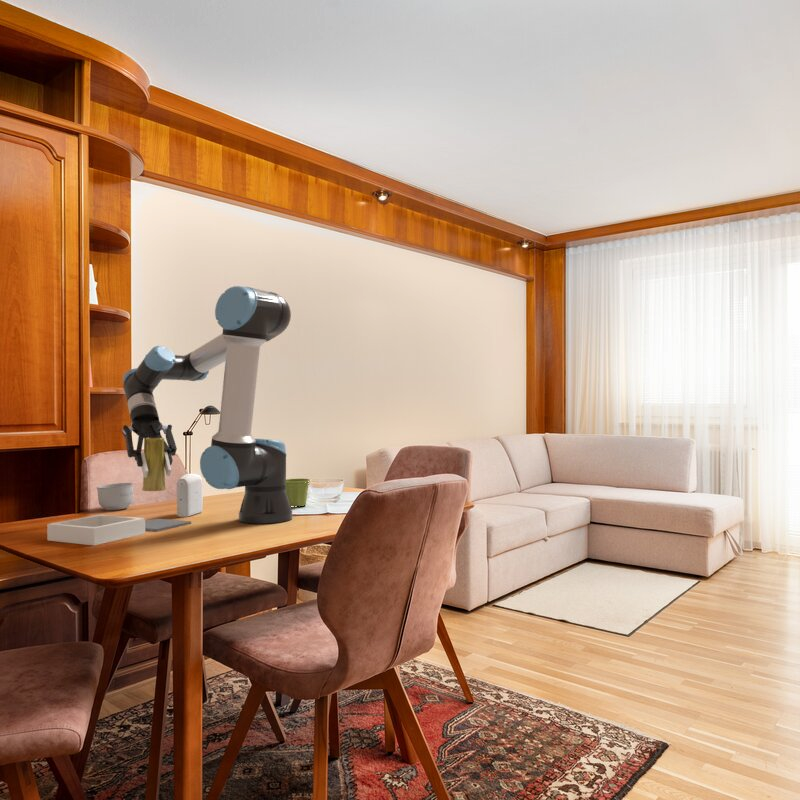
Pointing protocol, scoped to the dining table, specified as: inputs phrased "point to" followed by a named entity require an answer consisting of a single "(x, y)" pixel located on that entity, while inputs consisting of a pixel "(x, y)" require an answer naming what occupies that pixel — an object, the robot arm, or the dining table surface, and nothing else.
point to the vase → (154, 464)
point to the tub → (95, 529)
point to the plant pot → (297, 491)
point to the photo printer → (189, 495)
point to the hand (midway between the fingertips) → (157, 473)
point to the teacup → (115, 496)
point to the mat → (163, 524)
